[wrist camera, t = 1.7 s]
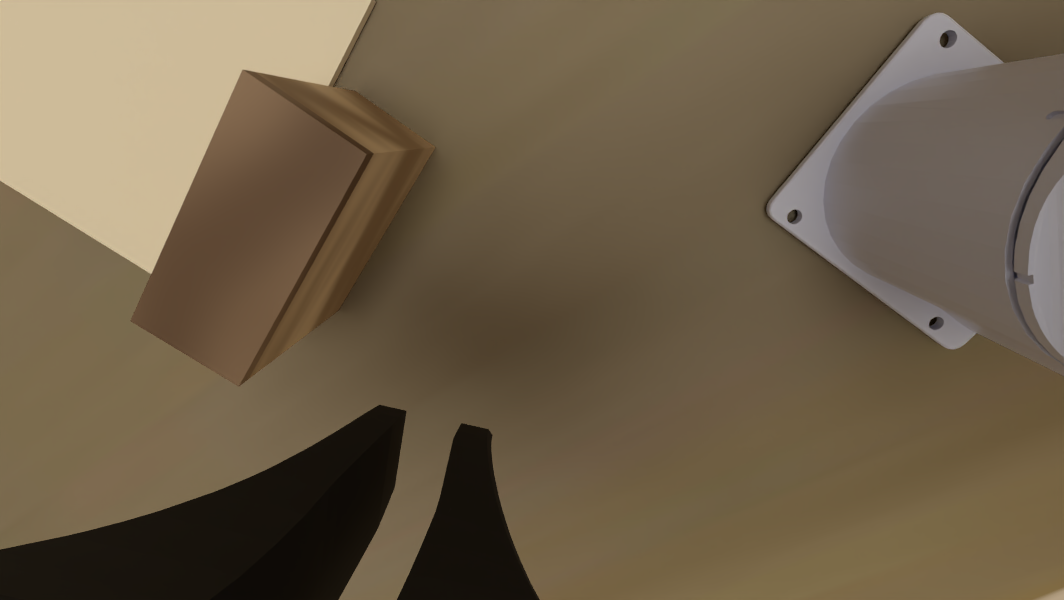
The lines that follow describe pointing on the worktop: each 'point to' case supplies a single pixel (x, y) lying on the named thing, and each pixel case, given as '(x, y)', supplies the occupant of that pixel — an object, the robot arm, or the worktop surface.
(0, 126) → the mat
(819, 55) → the worktop surface
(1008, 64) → the robot arm
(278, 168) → the oak slab
